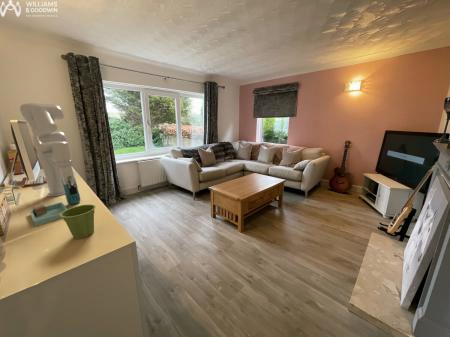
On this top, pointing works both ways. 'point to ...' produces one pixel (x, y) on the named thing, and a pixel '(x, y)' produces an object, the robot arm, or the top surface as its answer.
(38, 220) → the tray
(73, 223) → the plant pot
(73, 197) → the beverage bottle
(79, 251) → the top surface
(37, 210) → the walnut block
